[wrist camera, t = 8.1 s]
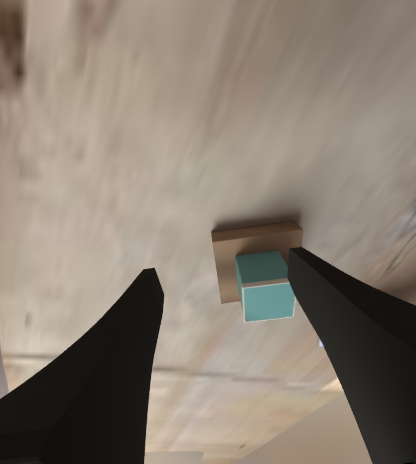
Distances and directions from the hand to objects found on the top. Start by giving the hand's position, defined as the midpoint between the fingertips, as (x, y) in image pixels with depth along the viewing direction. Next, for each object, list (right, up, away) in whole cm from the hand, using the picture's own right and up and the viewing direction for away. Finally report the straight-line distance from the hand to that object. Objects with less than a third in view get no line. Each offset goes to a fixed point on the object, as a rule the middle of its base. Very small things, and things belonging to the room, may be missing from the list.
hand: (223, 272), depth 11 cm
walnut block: (+5, -1, +13) cm, 14 cm away
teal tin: (+5, -2, +11) cm, 12 cm away
